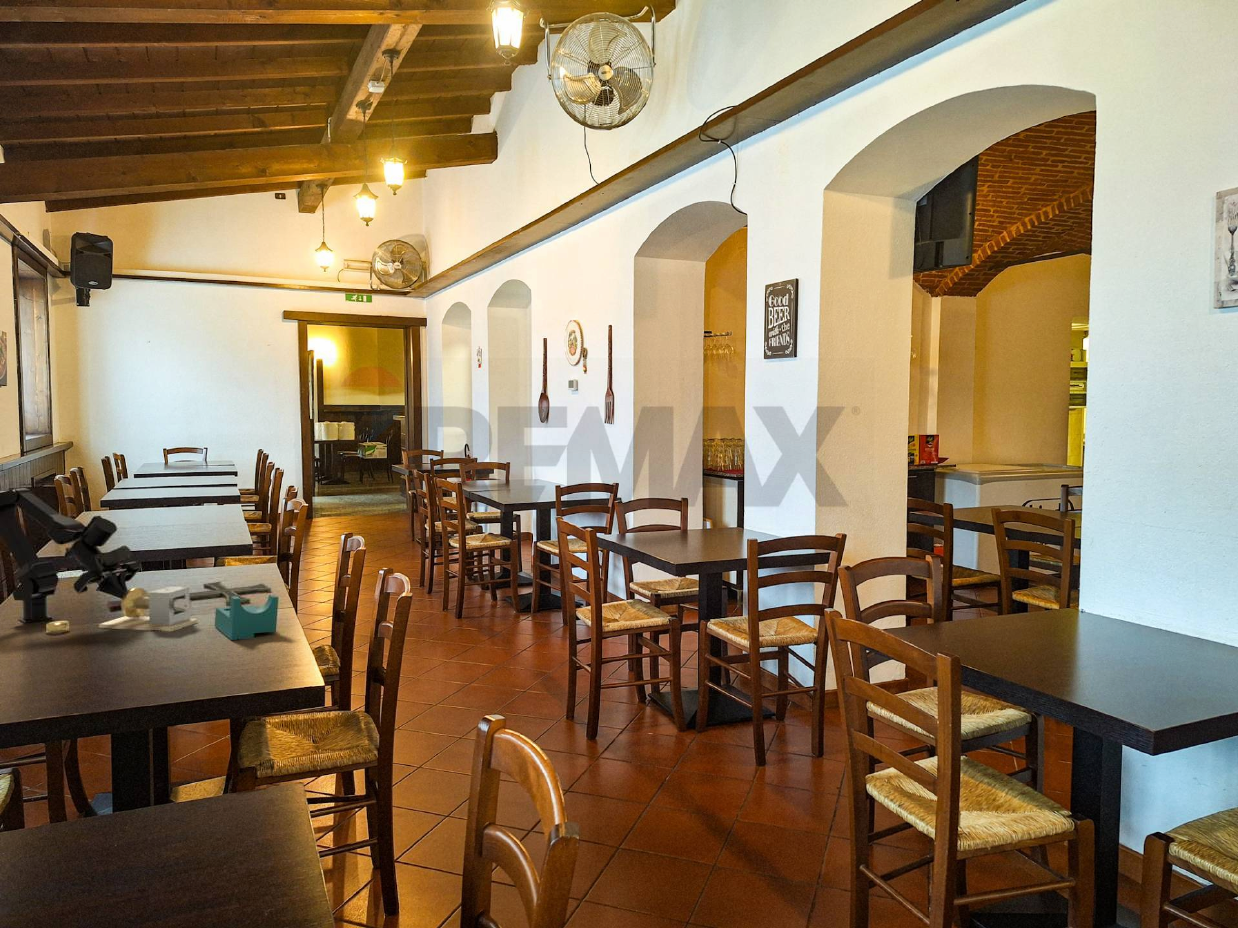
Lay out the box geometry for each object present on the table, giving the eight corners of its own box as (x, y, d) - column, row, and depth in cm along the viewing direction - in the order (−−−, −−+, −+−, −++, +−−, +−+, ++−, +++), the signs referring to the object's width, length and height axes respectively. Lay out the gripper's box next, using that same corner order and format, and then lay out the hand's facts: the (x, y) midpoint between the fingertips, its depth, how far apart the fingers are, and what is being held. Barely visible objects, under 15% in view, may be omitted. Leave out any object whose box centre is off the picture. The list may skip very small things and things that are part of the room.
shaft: (121, 620, 225) (120, 591, 225) (143, 613, 233) (142, 585, 233) (177, 623, 222) (177, 593, 222) (198, 616, 230) (197, 587, 230)
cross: (101, 594, 262) (253, 577, 290) (101, 599, 262) (253, 583, 290) (116, 614, 234) (282, 594, 262) (116, 621, 235) (283, 600, 262)
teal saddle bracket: (275, 637, 219) (278, 597, 219) (231, 639, 212) (234, 598, 212) (256, 623, 233) (259, 586, 233) (214, 626, 226) (217, 587, 226)
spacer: (43, 632, 221) (43, 623, 221) (65, 628, 225) (64, 619, 225) (50, 635, 218) (50, 626, 218) (72, 631, 222) (71, 622, 222)
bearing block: (149, 625, 224) (148, 592, 223) (170, 618, 232) (169, 586, 231) (169, 626, 223) (168, 593, 222) (190, 619, 231) (189, 587, 230)
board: (99, 627, 226) (99, 624, 226) (127, 618, 235) (127, 615, 235) (172, 631, 222) (171, 627, 222) (197, 622, 231) (197, 618, 231)
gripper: (81, 542, 220) (119, 585, 219) (134, 533, 238) (170, 572, 237) (56, 571, 222) (94, 614, 221) (111, 560, 240) (146, 599, 239)
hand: (128, 598), depth 229 cm, fingers closed
